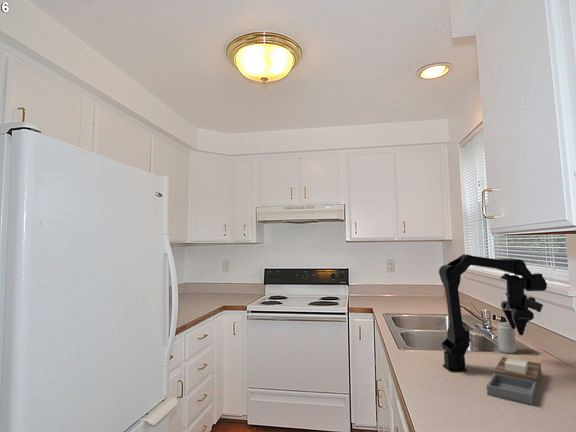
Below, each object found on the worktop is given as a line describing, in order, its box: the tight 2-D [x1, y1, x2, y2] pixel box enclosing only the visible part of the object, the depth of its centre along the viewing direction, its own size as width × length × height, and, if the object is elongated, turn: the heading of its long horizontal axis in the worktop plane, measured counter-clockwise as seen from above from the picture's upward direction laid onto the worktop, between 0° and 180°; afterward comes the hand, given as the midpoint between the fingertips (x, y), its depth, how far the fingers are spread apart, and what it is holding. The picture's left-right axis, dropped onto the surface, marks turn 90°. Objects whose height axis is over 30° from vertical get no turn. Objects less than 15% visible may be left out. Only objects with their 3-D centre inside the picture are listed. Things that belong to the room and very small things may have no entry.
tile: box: [505, 357, 529, 374], centre depth 124 cm, size 6×6×2 cm
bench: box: [493, 356, 542, 392], centre depth 126 cm, size 16×12×4 cm
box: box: [486, 373, 537, 406], centre depth 115 cm, size 12×12×3 cm
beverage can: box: [496, 321, 517, 354], centre depth 153 cm, size 6×6×12 cm
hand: (517, 332), depth 136 cm, fingers open, 9 cm apart
